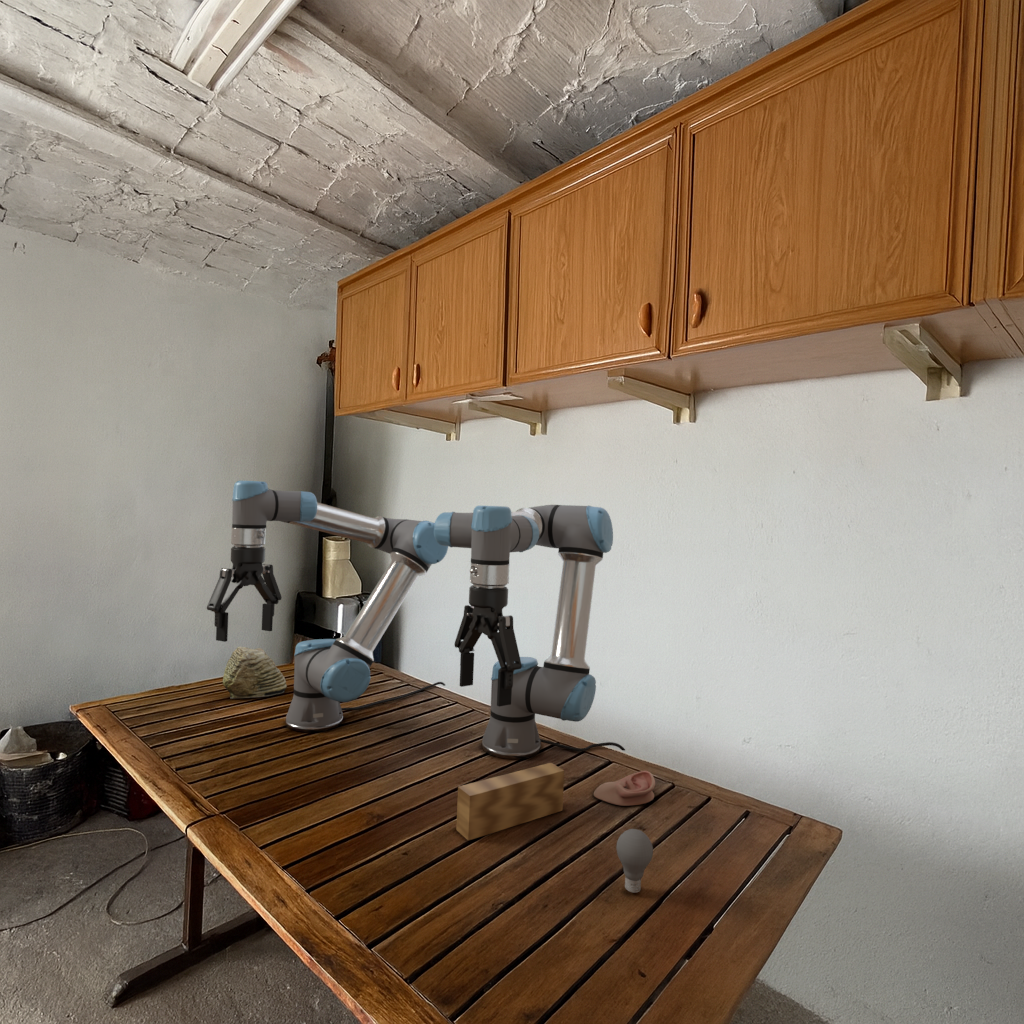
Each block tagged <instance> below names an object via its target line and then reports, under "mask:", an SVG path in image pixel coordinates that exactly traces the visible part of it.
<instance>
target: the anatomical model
mask: <svg viewBox="0 0 1024 1024" xmlns="http://www.w3.org/2000/svg"><path fill="white" fill-rule="evenodd" d="M655 787H656V779H655V776H654V775H653V774H652V772H651V771H648V770H641V771H636V772H634V773H631V774H629V775H626V776H624V777H623V778H620V779H618V780H615V781H606V782H604V783H601V784H600V785H599V786H597V787H596V788H595V789H594V792H593V797H595V798H596V799H598V800H600V801H603V802H606V803H608V804H612V805H616V806H621V807H627V806H638V805H643V804H647V803H650V802H651V801H653V800H654V798H655V793H654V791H653V790H654V789H655Z"/></svg>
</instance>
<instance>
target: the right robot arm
mask: <svg viewBox="0 0 1024 1024" xmlns="http://www.w3.org/2000/svg"><path fill="white" fill-rule="evenodd" d="M612 522H613V521H612V519H611V516H610V513H609V512H608V511H607V509H605V508H604V507H601V506H594V505H593V506H592V505H571V504H569V505H568V504H567V505H566V504H545V505H537V506H531V507H521V508H519V509H517V510H515V511H512V510H511V508H510V507H509V506H506V505H505V506H504V505H502V506H501V505H476V506H475V507H474V508H473V512H456V511H450V512H449V511H447V512H446V511H444V512H441V513H440V514H438V515H437V517H436V518H435V521H434V523H435V524H434V536H435V539H436V541H437V542H438V543H439V544H440V545H442V546H448V548H460V549H461V548H463V549H470V569H469V573H470V574H469V582H470V584H472V585H470V587H469V589H468V604H466V605H464V608H463V616H462V619H461V622H460V625H459V629H458V631H457V634H456V637H455V640H454V648H455V649H458V653H460V656H459V657H460V658H459V659H460V661H459V663H460V664H459V687H461V688H462V687H470V686H474V670H475V669H474V667H475V646H476V644H477V643H478V641H479V640H480V638H481V636H482V634H483V635H485V636H487V639H488V640H490V641H491V644H492V647H493V650H494V652H495V656H496V658H497V661H495V662H494V664H493V666H492V673H491V677H490V681H491V686H490V687H491V688H490V689H491V690H490V713H489V714H490V716H489V720H488V722H487V725H486V728H485V730H484V733H483V737H482V741H481V748H482V750H483V752H485V753H486V754H488V755H490V756H492V757H496V758H499V759H507V760H523V759H528V758H532V757H535V756H536V755H538V754H539V753H540V752H541V748H542V747H541V746H542V745H541V744H542V743H543V744H547V745H550V746H554V747H557V748H560V749H565V750H568V751H573V752H580V753H581V752H587V751H589V750H591V749H594V748H601V747H608V746H612V747H616V748H619V749H620V750H621V751H626V748H625V747H624V746H623V745H621V744H619V743H618V742H613V741H611V742H610V741H607V742H601V743H592V744H590V745H588V746H586V747H580V748H579V747H572V746H569V745H565V744H561V743H558V742H554V741H551V740H546V739H543V738H541V737H540V734H539V733H540V732H539V730H538V726H537V723H536V715H540V716H545V717H550V718H554V719H559V720H561V721H567V722H568V721H569V722H574V723H576V722H581V721H583V720H584V719H585V718H586V717H587V715H588V714H589V712H590V710H591V708H592V705H593V704H594V703H593V702H594V699H595V696H596V692H597V691H596V690H597V684H596V683H597V681H596V678H595V676H594V675H592V674H590V672H591V671H590V670H591V667H590V665H589V664H588V662H587V661H586V654H587V653H586V652H587V646H588V645H587V644H588V636H589V626H590V620H591V610H592V603H593V593H594V585H595V578H596V569H597V568H596V567H597V565H598V564H600V563H601V562H602V561H603V560H604V554H607V553H609V552H610V551H611V550H612V546H613V544H614V530H613V523H612ZM535 546H540V547H544V548H551V549H558V552H557V555H558V557H560V559H561V561H562V566H561V574H560V581H559V588H558V589H559V590H558V597H557V604H556V613H555V621H554V629H553V636H552V644H551V651H550V654H549V656H547V657H546V658H545V659H544V660H543V666H538V665H539V662H538V660H537V658H534V657H531V656H520V652H519V647H518V643H517V638H516V634H515V633H516V632H515V628H514V617H513V615H504V613H503V610H504V608H506V607H507V606H508V603H509V589H508V587H507V585H508V584H509V582H510V555H511V553H523V552H527V551H529V550H531V549H533V548H534V547H535Z"/></svg>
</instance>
